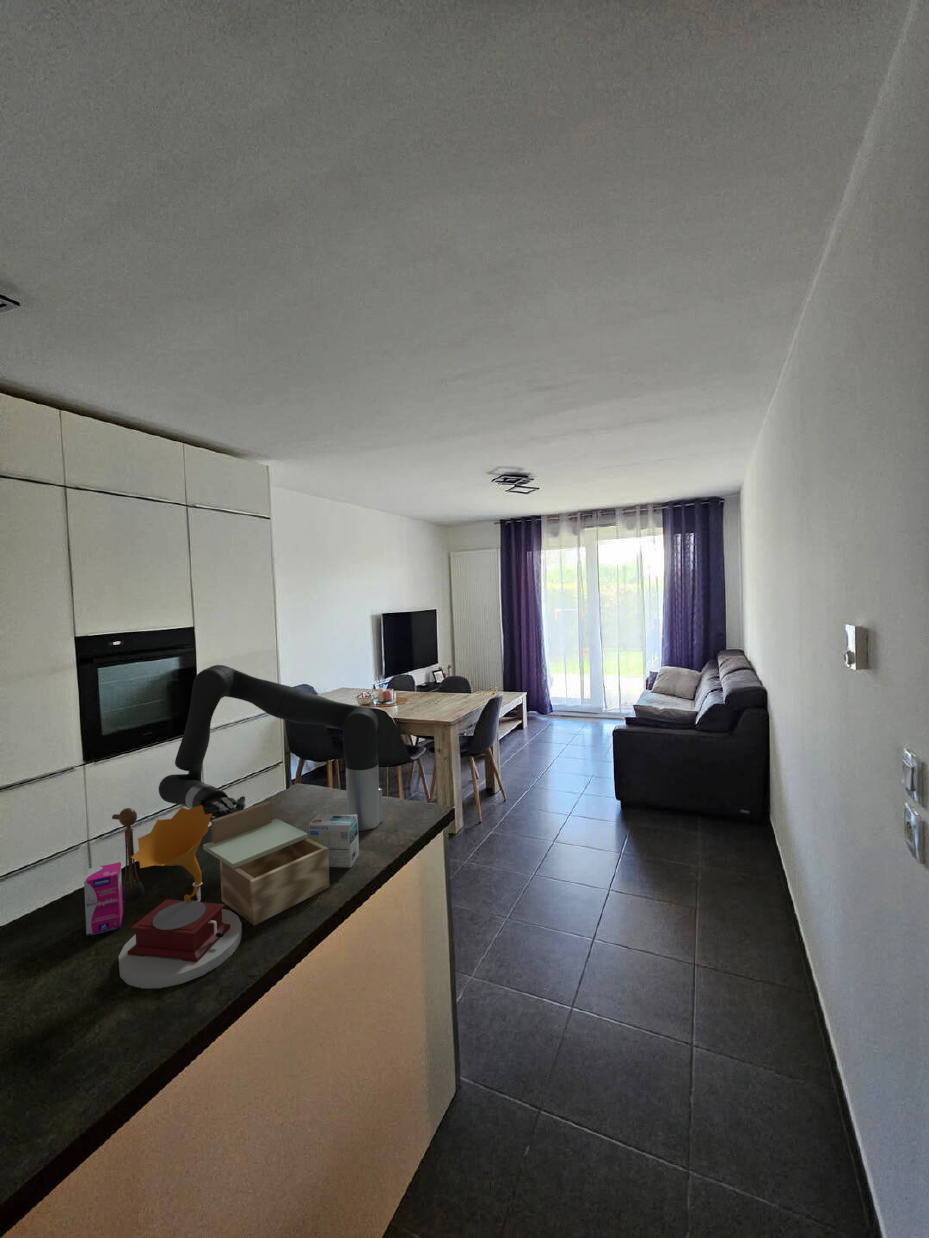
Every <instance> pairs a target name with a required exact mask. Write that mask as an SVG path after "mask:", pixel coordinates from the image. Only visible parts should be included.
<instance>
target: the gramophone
mask: <svg viewBox="0 0 929 1238" xmlns="http://www.w3.org/2000/svg"><path fill="white" fill-rule="evenodd" d="M211 816H212V813H211V814H206V815H205V813H204V810H203V807H202V805H200V806H197V807H194V808H191V809H189V808H184V807H182V806H181V807H180V808H179V810H177V812H176V813H175V814H174V815H173V816H172V817H171V818H167V819H166V818H165V819H157V820H156V822H155V824H153V827H152V829H151V830H150V832H149V833H147V834H145V835H143V836H141V837H138V838H137V842H138V851H136V852H134V855H133V856H132V857H131V858H132V859H135V861H137V862H138V863H139V869H142V868H143V869H144V868H149V867H153V866H156V867H157V866H159V867H166V866H167V867H169V866H170V867H172V866H180V867H182V868H184V869H185V870H186V871H187V872H189V874H191V875H192V877H193V878H194V882H193V883H192V886H193V892H192V893H191V894H190V895H189V894H185V895H184V896H183V900H179V899H165V900H164V901H163V902H161V903H160V904H159V905H158V906H156V907H155V908H153V909H152V910H151V911H150V912H149V913H148V914H146V915H145V916H143V917H142V918H141V919H140V920H139V921H137V922H136V923H134V925H131V926H130V929H131V930H135V934H134V935H133V936H132V937H131V938H130V939H128V941H127V942H126V943H125V944H124V945H123V946H122V949H121V951H120V953H119V954H118V968H119V978H121V979H122V980H123V982H125V983H126V985H129V986H133V987H136V988H139V987H140V988H139V989H163V987H164V988H168V987H172V986H177V985H181V984H184V983H187V982H190V981H193V980H194V979H197V978H200V977H203V976H205V975H206V974H208V973H209V972H211V971H212V970H214V969H215V968H217V967H219V966H221V965H222V964H223V963H224V962H226V960H227V959H229V958H230V957H231V956H232V955H234V953H235V951H236V949H238V947H239V945H240V944H241V941H242V935H243V927H242V926H243V925H242V922H241V920H240V917H239V915H237V914H236V913H235V912H233V911H231V910H229V909H225V907H226V904H225V903H213V902H212V903H211V902H201V899H202V897H201V896H202V895H201V893H202V892H201V885H203V882H202V880H203V879H202V870H201V867H200V864H199V862H198V859H197V857H196V853H197V851H198V849H199V846H200V844H201V841H202V838H203V837H204V836H205V835H206V834H207V833H208V832H209V825H210V823H211V822H210V819H211ZM195 895H196V900H191V898H192V897H195ZM233 952H234V953H233ZM228 957H229V958H228Z"/></svg>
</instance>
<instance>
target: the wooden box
mask: <svg viewBox="0 0 929 1238" xmlns="http://www.w3.org/2000/svg"><path fill="white" fill-rule="evenodd" d="M219 873H220V892H221V896H220V897H221V901H222V902H223V904H225V906H228V907H229V908H231V909H232V910H233V911H234V912H236V913H237V914H239V916H241V917H242V918H243V919H245V920H246V921H247V922H249V923H250V924H251V925H252V926H256V925H258V924H260V923H262V922H264V921H266V920H268V919H270V918H272V917H274V916H276V915H279V914H280V913H282V912H284V911H286V910H287V909H289V908H291V907H293V906H295V905H298V904H299V903H301V902H303V901H305V900H307V899H309V898H311V897H313V896H315V895H317V894H318V893H321V892H323V891H324V890H326V889H329V888H330V867H329V858H328V848H327V847H325V846H323V845H321V844H319V843H317V842H315V841H313V840H311V839H309V837H308V838H306V839H304V840H301V841H299V842H296V843H294V844H292V845H289V846H287V847H284V848H282V849H280V850H277V851H275V852H272V853H270V854H267V855H265V856H263V857H260V858H258V859H255V860H253V861H251V862H248V863H246V864H243V865H241V866H239V867H236V868H234V869H233V868H231V867H230V866H228V865H227V864H225V863H224V862H222V861H221V860H219Z"/></svg>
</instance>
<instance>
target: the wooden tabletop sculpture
mask: <svg viewBox="0 0 929 1238" xmlns="http://www.w3.org/2000/svg"><path fill="white" fill-rule="evenodd" d="M111 819H112V820H118V821H119V823H120V824H121V825H122V826H125V827H126V829H125V830H124V842H125V845H124V846H125V872H124V882H123V884H122V899H123V901H125V902H128V903H130V902H129V901H132V902H136V901H138V900H139V898H140V899H141V897H142V896H143V895H146V889H145V887H144V885H143V884H142V882H140V879H139V876H138V871H137V866H136V860H135V859H133V858H131V857H132V856H133V855H134V854H135V848H134V835H133V834H134V829H133V828H132V825H134V824H135V823H136V822H137V819H138V814H137V812H136V809H133V808H131V807H126V808H123V809H122V810H121V811H120V812H119V814H118V813H114V814H112V815H111ZM134 874H135V878H134ZM127 876H128V878H129V879H128V881H127ZM143 897H144V896H143ZM143 897H142V898H143ZM137 899H138V900H137Z"/></svg>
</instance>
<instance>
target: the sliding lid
mask: <svg viewBox="0 0 929 1238" xmlns="http://www.w3.org/2000/svg"><path fill="white" fill-rule="evenodd" d="M272 817H273V816H272V802H270V801H268V800H267V801H264V802H262V803H259V804H256V805H255V804H254V805H252V806H249V807H245V808H244V809H243V810H240V811H237V812H234V813H231V814H228V815H225V816H222V817H219V818H216V819H213V820H211V822H210V825H211V826H210V827H211V841H210V842H207V843H205V844H203V845H202V846H203V847H202V849H203V850H204V851H205V852H207V853H208V854H210V855H212V856H213V857H214V858H216V859H217V860H219V861H220V860H221V861H222V862H224V863H225V864H227V865H228V866H230V867H231V868H233V869H234V868H236V867H239V866H241V865H243V864H246V863H248V862H251V861H253V860H255V859H258V858H260V857H263V856H265V855H267V854H270V853H272V852H275V851H277V850H280V849H282V848H284V847H287V846H289V845H292V844H294V843H296V842H299V841H301V840H304V839H306V838H309V832H308V833H307V832H305V831H303V830H301V829H299V828H297V827H296V826H293V825H291V824H288V823H287V822H284V821H283V820H281V819H278V818H273V819H272Z"/></svg>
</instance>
